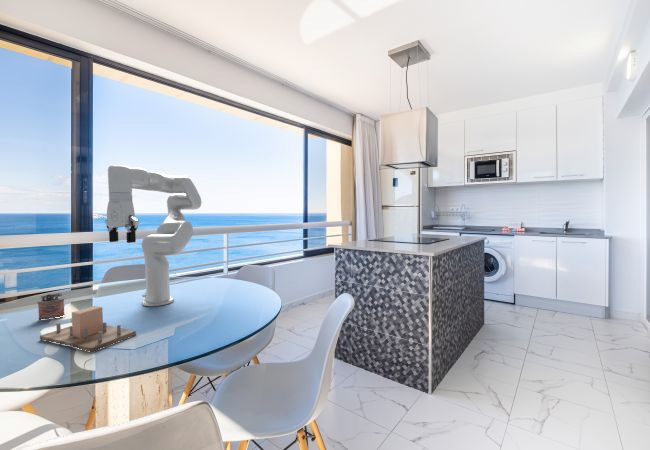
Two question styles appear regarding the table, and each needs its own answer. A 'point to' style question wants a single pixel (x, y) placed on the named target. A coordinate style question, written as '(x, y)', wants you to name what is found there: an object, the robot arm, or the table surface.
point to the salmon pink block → (87, 321)
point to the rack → (89, 337)
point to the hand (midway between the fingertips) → (122, 242)
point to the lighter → (51, 306)
